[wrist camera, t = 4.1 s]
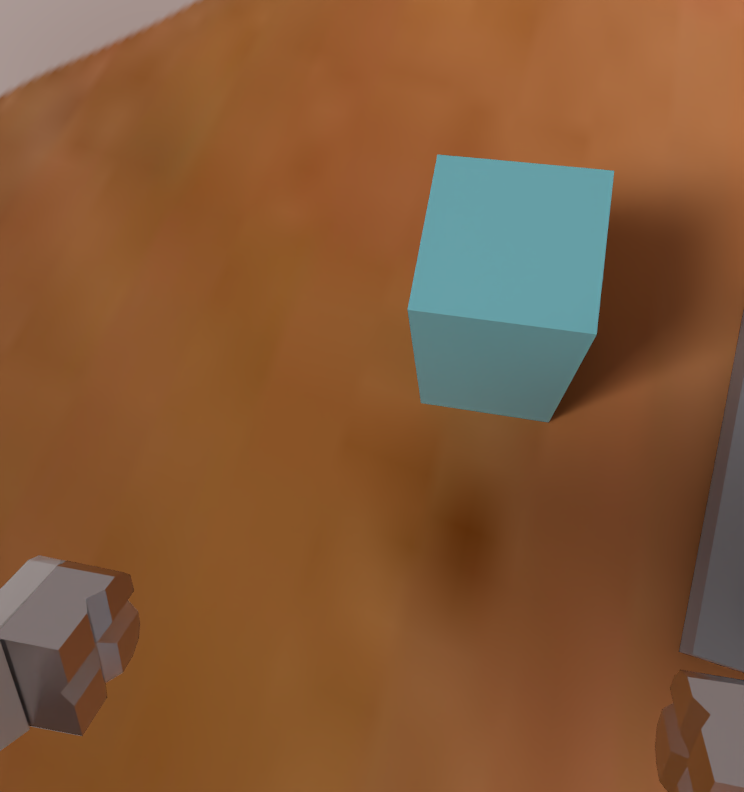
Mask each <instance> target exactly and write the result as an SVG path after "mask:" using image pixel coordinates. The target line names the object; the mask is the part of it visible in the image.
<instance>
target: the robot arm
mask: <svg viewBox="0 0 744 792" xmlns="http://www.w3.org/2000/svg"><path fill="white" fill-rule="evenodd" d="M133 592H134V588H133V584H132V580H131V575H129V574H127V573H124V572H120V571H115V570H110V569H105V568H101V567H96V566H91V565H86V564H81V563H76V562H71V561H64V560H59V559H54V558H49V557H44V556H37V557H34V558H32V559H30V560H28V561H27V562H26V563H25V564H24V565H23V566H22V567H21V568H20V569H19V570H18V571H17V572H16V573H15V574H14V575H13V576H12V578H11V579H10V580H9V581H8V582H7V583H6V584H5V585H4V586H3V587H2V588H1V589H0V751H1V750H2V749H3V748H5V747H6V746H8V745H9V744H10V743H12V742H13V741H14V740H16V739H17V738H19V737H20V736H21V735H23V734H24V733H26V732H27V731H28V730H29V729H30V728H29V726H32V727H37V728H43V729H48V730H53V731H58V732H64V733H69V734H74V735H80V736H83V734H84V733H85V731H86V730H87V728H88V727H89V725H90V723H91V722H92V720H93V719H94V717H95V716H96V714H97V713H98V711H99V709H100V708H101V706H102V705H103V703H104V702H105V700H106V699H107V689H106V682H108V681H110V680H111V679H113V678H115V677H116V676H118V675H120V674H121V673H123V672H124V670H125V668H126V667H127V665H128V663H129V662H130V660H131V658H132V657H133V654H134V651H135V648H136V645H137V642H138V639H139V632H140V619H139V613H138V611H137V610H136V609H135V608H134V606H133V605H132V604H131V603H130V602H129V601H128V599H129V597H130V596H131V595H132V593H133ZM670 690H671V695H672V699H673V704H671V705H669V706H667V707H665V708H664V709H662V711H661V715H660V718H659V721H658V724H657V731H656V742H655V751H656V764H657V770H658V776H659V781H660V783H661V784H662V785H663V786H664V788H665V789H666V790H667V791H668V792H744V680H740V679H733V678H727V677H721V676H715V675H709V674H703V673H697V672H691V671H685V670H680V671H679V672H678V673H677V674H676V675H675V676H674V679H673V681H672V684H671V686H670Z"/></svg>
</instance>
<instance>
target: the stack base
mask: <svg viewBox="0 0 744 792" xmlns="http://www.w3.org/2000/svg"><path fill="white" fill-rule="evenodd" d="M679 652H681V653H685V654H688V655H691V656H694V657H697V658H700V659H703V660H706V661H709V662H712V663H715V664H718V665H721V666H724V667H727V668H731V669H734V670H737V671H740V672H743V673H744V311H743V316H742V322H741V327H740V332H739V337H738V343H737V348H736V353H735V359H734V364H733V369H732V374H731V380H730V385H729V390H728V396H727V401H726V406H725V411H724V417H723V422H722V427H721V433H720V438H719V443H718V448H717V454H716V459H715V464H714V470H713V475H712V480H711V486H710V491H709V496H708V501H707V507H706V512H705V517H704V523H703V528H702V533H701V538H700V544H699V549H698V554H697V560H696V565H695V570H694V575H693V581H692V586H691V591H690V597H689V602H688V607H687V612H686V618H685V623H684V628H683V634H682V639H681V644H680V649H679Z"/></svg>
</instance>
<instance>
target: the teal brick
mask: <svg viewBox="0 0 744 792" xmlns="http://www.w3.org/2000/svg"><path fill="white" fill-rule="evenodd" d="M613 177H614V171H610V170H600V169H589V168H578V167H567V166H556V165H545V164H534V163H523V162H513V161H502V160H491V159H480V158H469V157H458V156H447V155H437V160H436V165H435V170H434V175H433V181H432V186H431V191H430V196H429V201H428V207H427V212H426V217H425V222H424V227H423V233H422V238H421V243H420V248H419V253H418V259H417V264H416V269H415V274H414V279H413V285H412V290H411V295H410V300H409V305H408V316H409V323H410V330H411V336H412V343H413V350H414V357H415V364H416V371H417V378H418V385H419V392H420V399H421V403H425V404H431V405H438V406H445V407H451V408H458V409H464V410H471V411H477V412H484V413H490V414H497V415H503V416H510V417H516V418H523V419H529V420H536V421H543V422H549V421H550V419H551V417H552V415H553V414H554V412H555V410H556V408H557V406H558V405H559V403H560V401H561V399H562V397H563V395H564V394H565V392H566V390H567V388H568V386H569V384H570V383H571V381H572V379H573V377H574V375H575V373H576V372H577V370H578V368H579V366H580V364H581V362H582V361H583V359H584V357H585V355H586V353H587V351H588V350H589V348H590V346H591V344H592V342H593V340H594V339H595V337H596V335H597V327H598V318H599V308H600V299H601V290H602V280H603V271H604V261H605V252H606V243H607V233H608V224H609V215H610V205H611V196H612V186H613Z"/></svg>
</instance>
